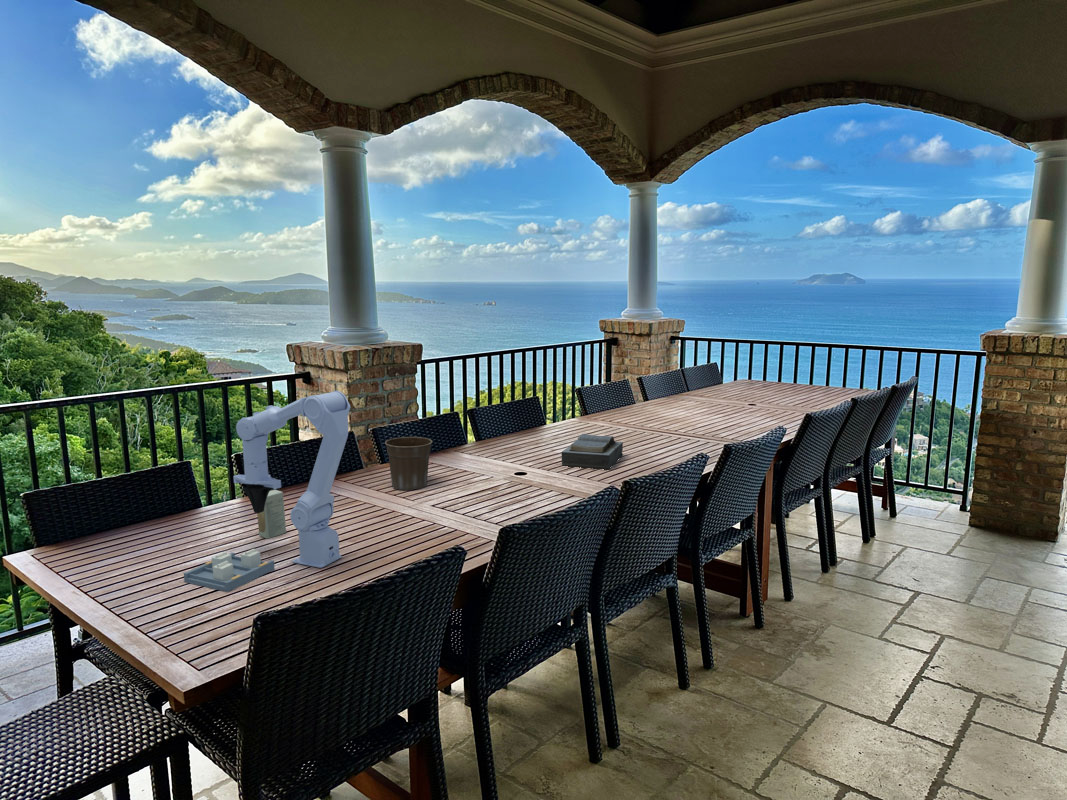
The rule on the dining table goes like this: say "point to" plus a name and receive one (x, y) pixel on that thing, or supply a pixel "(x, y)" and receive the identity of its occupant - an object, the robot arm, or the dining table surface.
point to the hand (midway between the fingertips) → (259, 511)
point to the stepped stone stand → (592, 452)
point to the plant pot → (409, 462)
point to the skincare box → (272, 516)
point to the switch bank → (241, 577)
